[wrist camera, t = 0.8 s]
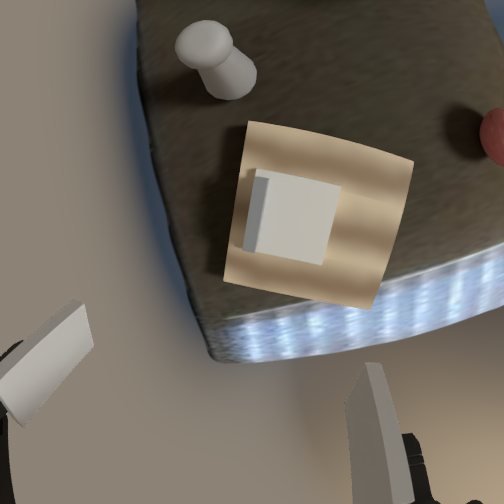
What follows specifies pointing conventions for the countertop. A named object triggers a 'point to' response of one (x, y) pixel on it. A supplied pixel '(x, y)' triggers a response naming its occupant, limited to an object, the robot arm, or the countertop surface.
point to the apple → (493, 135)
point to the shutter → (290, 216)
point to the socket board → (345, 220)
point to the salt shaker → (216, 59)
